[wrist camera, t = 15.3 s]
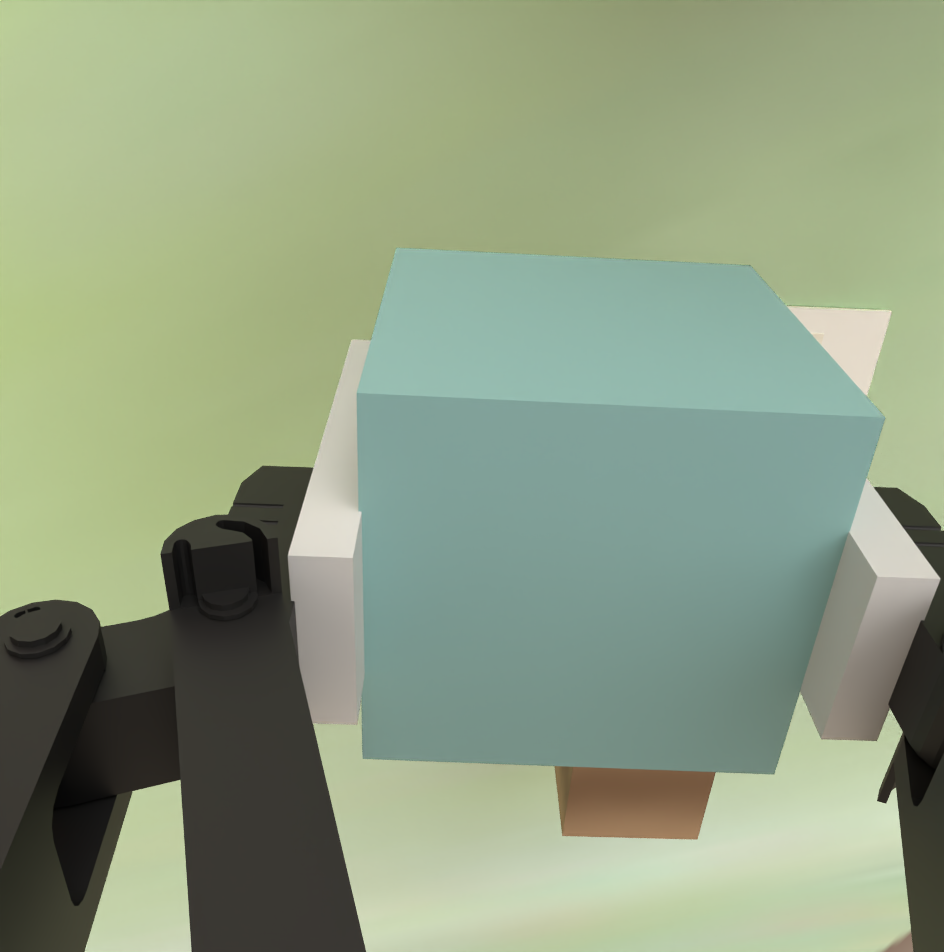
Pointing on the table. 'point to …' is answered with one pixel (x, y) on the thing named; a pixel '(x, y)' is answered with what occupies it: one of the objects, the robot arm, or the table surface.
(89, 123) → the table surface
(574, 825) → the walnut brick
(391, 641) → the teal brick
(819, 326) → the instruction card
